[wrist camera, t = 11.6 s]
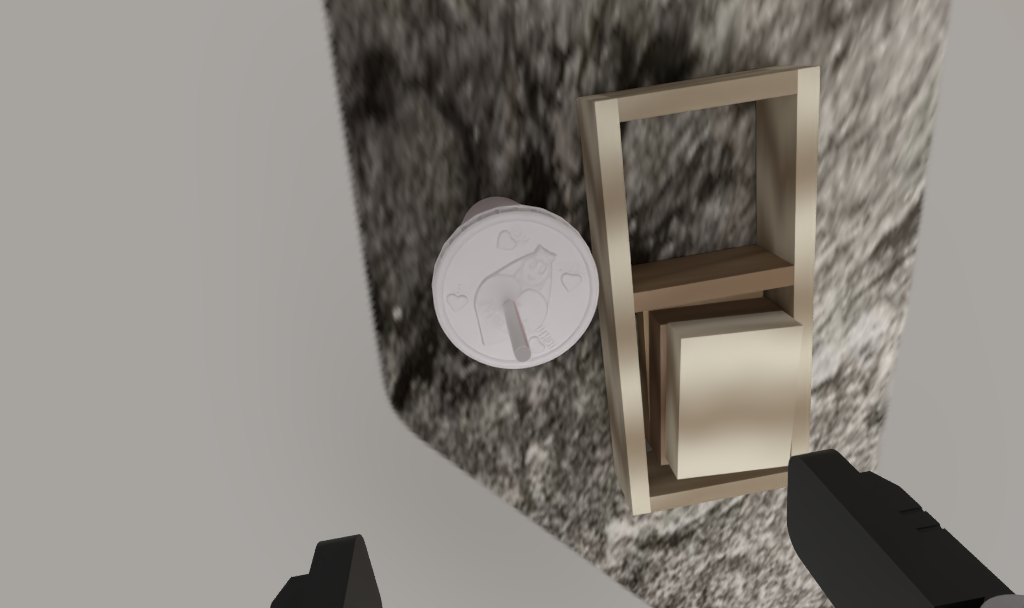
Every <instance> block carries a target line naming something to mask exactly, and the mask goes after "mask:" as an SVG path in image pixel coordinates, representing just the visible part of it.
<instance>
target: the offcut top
mask: <svg viewBox="0 0 1024 608" xmlns="http://www.w3.org/2000/svg"><path fill="white" fill-rule="evenodd" d="M802 333H803V325H802V324H800V323H799V322H798V321H796V320H795V319H794V318H792V317H791V316H789V315H788V314H787V313H785V312H784V311H773V312H764V313H754V314H745V315H736V316H726V317H717V318H707V319H698V320H689V321H679V322H670V323H667V375H666V431H665V458H666V460H667V462H668V463H669V465H670V467H671V469H672V471H673V472H674V474H675V476H676V478H677V479H685V478H693V477H701V476H709V475H717V474H725V473H734V472H742V471H750V470H758V469H766V468H774V467H782V466H788V463H789V460H790V451H791V441H792V431H793V421H794V411H795V402H796V392H797V382H798V372H799V362H800V353H801V343H802Z"/></svg>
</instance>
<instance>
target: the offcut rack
mask: <svg viewBox="0 0 1024 608" xmlns="http://www.w3.org/2000/svg"><path fill="white" fill-rule="evenodd" d="M819 90H820V66H773V67H766V68H760V69H754V70H748V71H741V72H735V73H729V74H722V75H716V76H710V77H703V78H697V79H691V80H685V81H678V82H672V83H666V84H659V85H653V86H647V87H640V88H634V89H628V90H622V91H615V92H609V93H603V94H596V95H590V96H584V97H577V98H576V99H577V109H578V119H579V128H580V138H581V148H582V158H583V167H584V177H585V187H586V196H587V206H588V216H589V226H590V235H591V245H592V255H593V259H594V261H595V264H596V268H597V272H598V278H599V296H598V302H597V303H598V313H599V323H600V332H601V342H602V352H603V362H604V371H605V381H606V391H607V401H608V410H609V420H610V430H611V439H612V449H613V459H614V469H615V474H616V476H617V479H618V481H619V483H620V486H621V488H622V490H623V493H624V495H625V498H626V500H627V502H628V505H629V507H630V509H631V512H632V514H633V516H634V515H639V514H645V513H650V512H655V511H661V510H666V509H671V508H677V507H682V506H687V505H692V504H698V503H703V502H708V501H714V500H719V499H724V498H730V497H735V496H740V495H746V494H751V493H756V492H762V491H767V490H772V489H777V488H783V487H788V466H782V467H774V468H766V469H758V470H750V471H742V472H734V473H725V474H717V475H709V476H701V477H693V478H685V479H677V478H676V476H675V474H674V472H673V471H672V469H671V467H670V465H669V464H668V465H661V464H660V463H659V461H658V459H657V457H656V455H655V453H654V452H648V453H646V446H645V434H644V421H643V409H642V396H641V384H640V372H639V359H638V347H637V334H636V322H635V313H636V312H642V311H648V310H653V309H659V308H665V307H671V306H676V305H682V304H688V303H693V302H699V301H705V300H711V299H716V298H722V297H728V296H734V295H739V294H745V293H751V292H757V291H762V290H763V297H766V298H767V299H768V300H770V301H771V302H773V303H774V304H775V305H777V306H778V307H780V308H781V309H782V310H783V311H784V312H785V313H787V314H788V315H789V316H791V317H792V318H794V319H795V320H796V321H798V322H799V323H800V324H802V325H803V333H802V343H801V353H800V362H799V372H798V382H797V392H796V402H795V411H794V421H793V431H792V441H791V451H790V458H791V457H792V456H795V455H800V454H806V453H809V438H810V404H811V369H812V334H813V299H814V264H815V229H816V195H817V160H818V125H819ZM755 100H756V203H757V244H755V245H749V246H743V247H737V248H731V249H726V250H720V251H714V252H708V253H702V254H696V255H691V256H685V257H679V258H673V259H667V260H661V261H655V262H650V263H644V264H638V265H632V266H631V260H630V248H629V235H628V223H627V210H626V198H625V186H624V173H623V161H622V148H621V136H620V124H619V122H624V121H630V120H636V119H643V118H649V117H655V116H661V115H667V114H674V113H680V112H686V111H692V110H699V109H705V108H711V107H717V106H723V105H730V104H736V103H742V102H748V101H755Z"/></svg>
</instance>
